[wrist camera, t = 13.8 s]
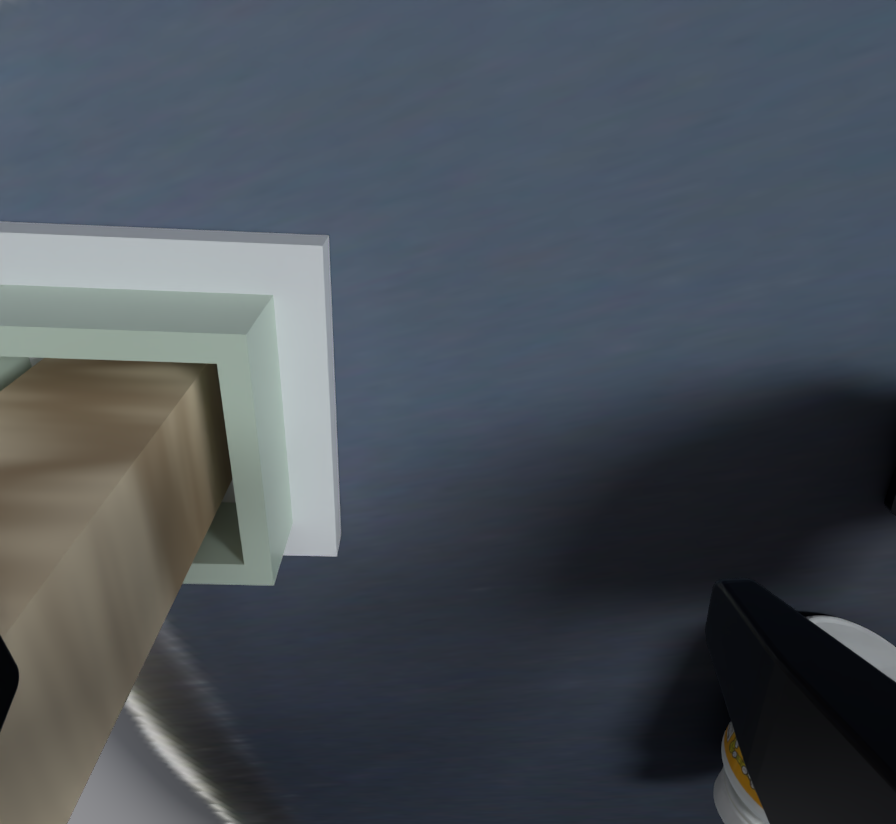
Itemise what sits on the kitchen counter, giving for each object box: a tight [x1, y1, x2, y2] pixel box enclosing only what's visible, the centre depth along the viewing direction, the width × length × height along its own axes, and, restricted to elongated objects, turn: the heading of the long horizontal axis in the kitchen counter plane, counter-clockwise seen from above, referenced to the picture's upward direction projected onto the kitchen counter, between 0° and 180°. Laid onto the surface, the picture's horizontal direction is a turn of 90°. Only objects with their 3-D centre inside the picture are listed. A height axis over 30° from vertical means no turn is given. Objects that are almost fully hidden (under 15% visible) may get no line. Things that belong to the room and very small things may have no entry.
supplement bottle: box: [714, 615, 896, 824], centre depth 26 cm, size 5×5×10 cm
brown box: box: [0, 358, 233, 824], centre depth 15 cm, size 4×4×12 cm
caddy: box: [0, 221, 341, 585], centre depth 19 cm, size 11×11×4 cm
